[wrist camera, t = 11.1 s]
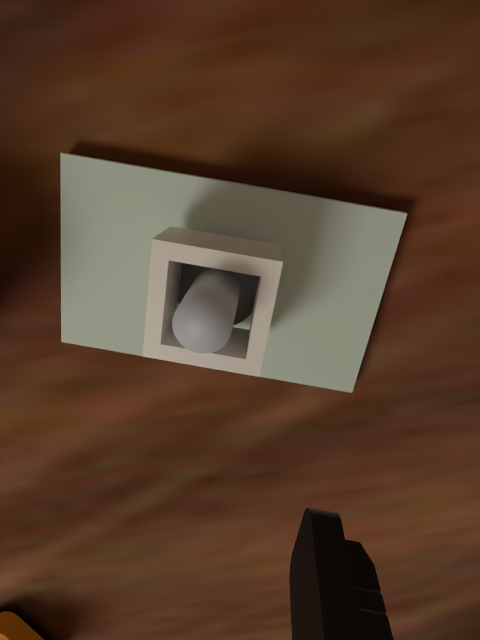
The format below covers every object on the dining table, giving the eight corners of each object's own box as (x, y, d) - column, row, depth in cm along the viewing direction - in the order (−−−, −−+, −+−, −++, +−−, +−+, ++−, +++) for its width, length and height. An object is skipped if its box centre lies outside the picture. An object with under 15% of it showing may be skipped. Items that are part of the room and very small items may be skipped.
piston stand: (402, 211, 24) (461, 235, 17) (349, 385, 29) (377, 464, 21) (68, 153, 24) (-21, 151, 17) (68, 335, 29) (-3, 398, 21)
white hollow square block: (280, 245, 23) (283, 262, 20) (260, 345, 26) (259, 376, 22) (170, 225, 23) (151, 238, 20) (160, 327, 26) (142, 356, 22)
